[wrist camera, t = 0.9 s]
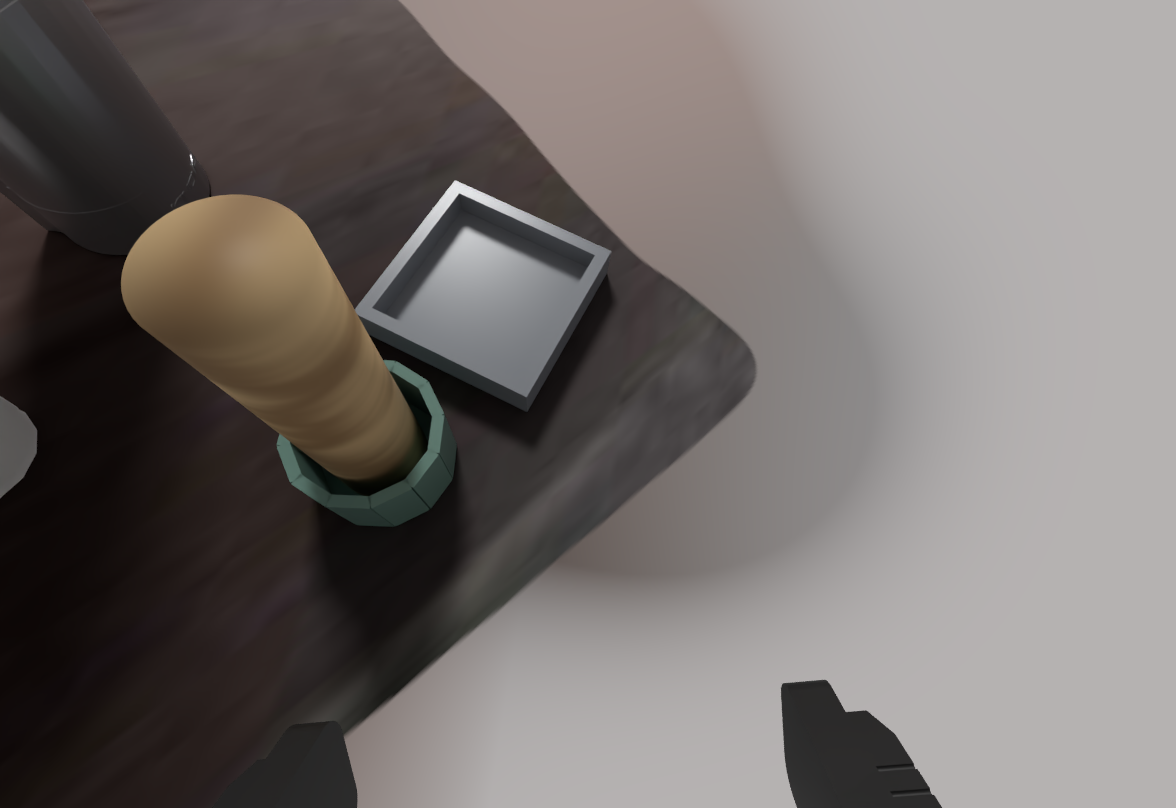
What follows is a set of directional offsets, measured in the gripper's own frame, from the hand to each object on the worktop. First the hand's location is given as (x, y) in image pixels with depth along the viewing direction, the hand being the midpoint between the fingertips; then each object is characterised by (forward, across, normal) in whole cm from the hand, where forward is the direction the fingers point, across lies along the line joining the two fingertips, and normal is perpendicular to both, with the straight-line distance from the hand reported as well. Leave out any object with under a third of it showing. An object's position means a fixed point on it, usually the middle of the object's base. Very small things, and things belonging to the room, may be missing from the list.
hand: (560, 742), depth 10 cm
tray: (+29, +6, -7) cm, 30 cm away
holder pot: (+22, +12, +1) cm, 25 cm away
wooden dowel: (+22, +12, 0) cm, 25 cm away
